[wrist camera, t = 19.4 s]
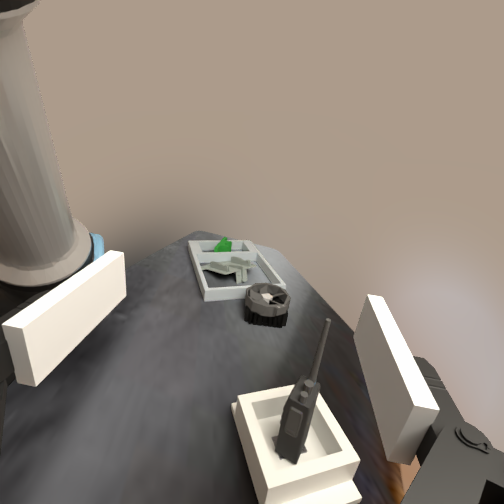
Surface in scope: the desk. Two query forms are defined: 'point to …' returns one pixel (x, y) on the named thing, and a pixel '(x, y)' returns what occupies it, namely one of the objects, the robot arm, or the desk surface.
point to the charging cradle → (311, 458)
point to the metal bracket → (231, 268)
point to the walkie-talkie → (300, 409)
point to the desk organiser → (248, 254)
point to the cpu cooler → (266, 305)
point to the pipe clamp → (223, 246)
